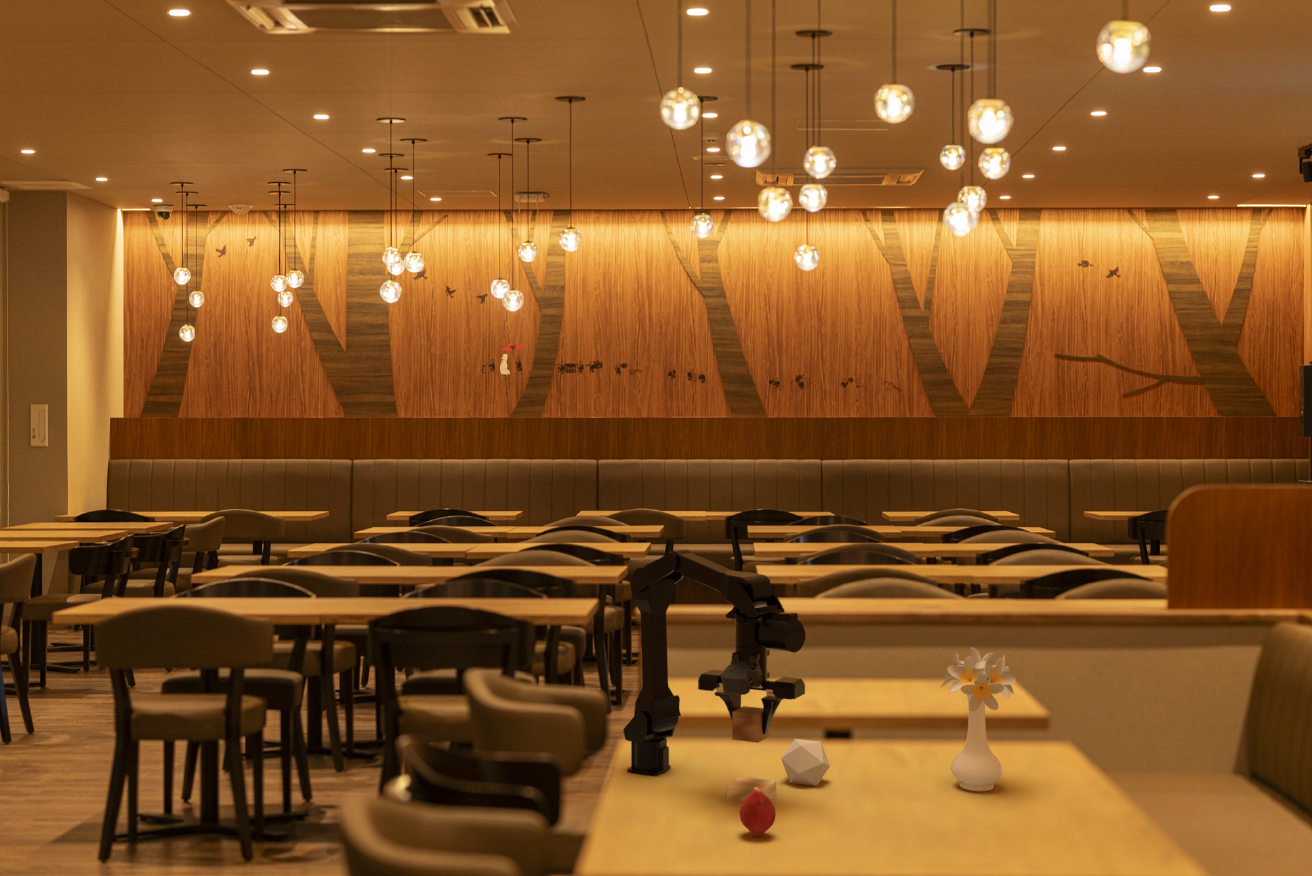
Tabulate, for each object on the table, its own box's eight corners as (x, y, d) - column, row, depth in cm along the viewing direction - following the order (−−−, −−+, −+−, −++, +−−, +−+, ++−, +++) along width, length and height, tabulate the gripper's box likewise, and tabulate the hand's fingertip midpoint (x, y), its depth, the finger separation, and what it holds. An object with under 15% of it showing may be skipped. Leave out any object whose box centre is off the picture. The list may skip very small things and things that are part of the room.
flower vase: (958, 803, 229) (958, 663, 228) (932, 774, 247) (932, 644, 247) (1030, 802, 229) (1031, 662, 229) (999, 774, 248) (999, 644, 247)
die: (835, 783, 244) (814, 736, 248) (837, 771, 236) (815, 724, 241) (796, 800, 243) (775, 753, 248) (796, 789, 236) (774, 741, 240)
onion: (779, 832, 213) (779, 784, 213) (770, 843, 207) (770, 793, 207) (744, 829, 215) (744, 781, 214) (735, 839, 209) (735, 790, 209)
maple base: (727, 803, 230) (727, 786, 230) (739, 792, 236) (739, 776, 236) (764, 808, 227) (764, 791, 227) (776, 797, 234) (776, 780, 234)
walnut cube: (732, 739, 230) (732, 711, 230) (743, 733, 235) (743, 706, 235) (758, 742, 228) (758, 714, 228) (769, 736, 233) (769, 708, 233)
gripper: (684, 648, 228) (684, 736, 229) (782, 657, 220) (782, 748, 220) (711, 638, 238) (711, 722, 239) (806, 647, 230) (806, 734, 230)
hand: (750, 732), depth 232 cm, fingers closed on walnut cube, 5 cm apart
